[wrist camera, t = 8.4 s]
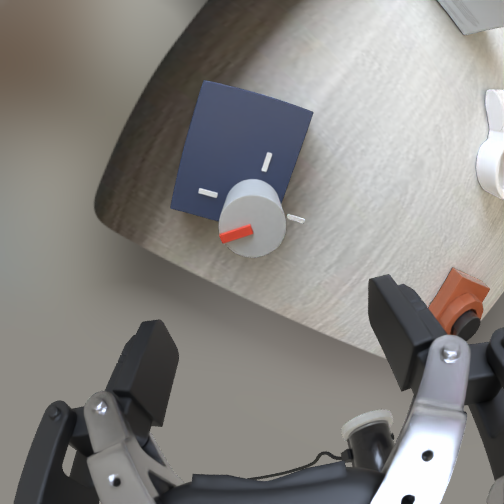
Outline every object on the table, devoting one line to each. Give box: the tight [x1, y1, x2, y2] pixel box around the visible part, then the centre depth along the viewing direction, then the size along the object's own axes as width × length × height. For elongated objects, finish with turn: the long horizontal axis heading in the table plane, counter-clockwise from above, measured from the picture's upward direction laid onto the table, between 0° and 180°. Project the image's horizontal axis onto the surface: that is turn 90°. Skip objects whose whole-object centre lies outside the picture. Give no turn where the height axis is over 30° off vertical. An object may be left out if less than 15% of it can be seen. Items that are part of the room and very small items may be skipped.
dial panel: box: [170, 80, 313, 224], centre depth 20 cm, size 12×10×3 cm
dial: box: [219, 179, 287, 258], centre depth 18 cm, size 4×4×5 cm
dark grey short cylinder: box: [451, 309, 480, 341], centre depth 25 cm, size 4×4×2 cm
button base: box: [428, 268, 490, 335], centre depth 27 cm, size 10×8×4 cm
